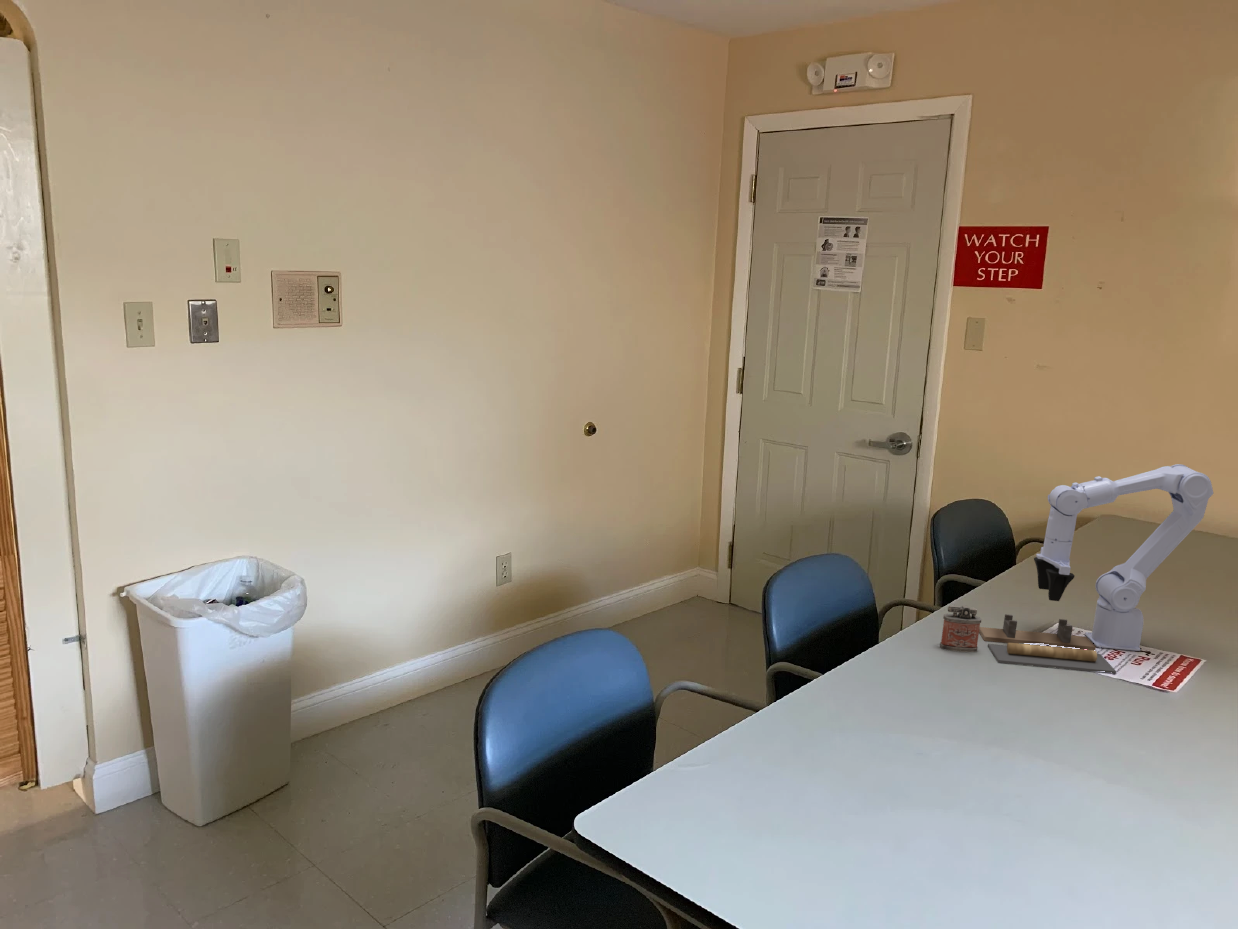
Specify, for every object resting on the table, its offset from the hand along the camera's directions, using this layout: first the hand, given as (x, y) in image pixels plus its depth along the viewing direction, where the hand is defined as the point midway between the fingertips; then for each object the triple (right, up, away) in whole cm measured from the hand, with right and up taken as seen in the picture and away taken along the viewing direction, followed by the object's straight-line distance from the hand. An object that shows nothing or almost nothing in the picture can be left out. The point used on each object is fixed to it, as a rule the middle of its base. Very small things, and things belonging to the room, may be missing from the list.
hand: (1048, 594), depth 209 cm
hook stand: (-3, -11, 0) cm, 11 cm away
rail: (-5, -12, -11) cm, 17 cm away
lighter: (-23, -11, -7) cm, 27 cm away
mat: (-5, -13, -11) cm, 17 cm away
